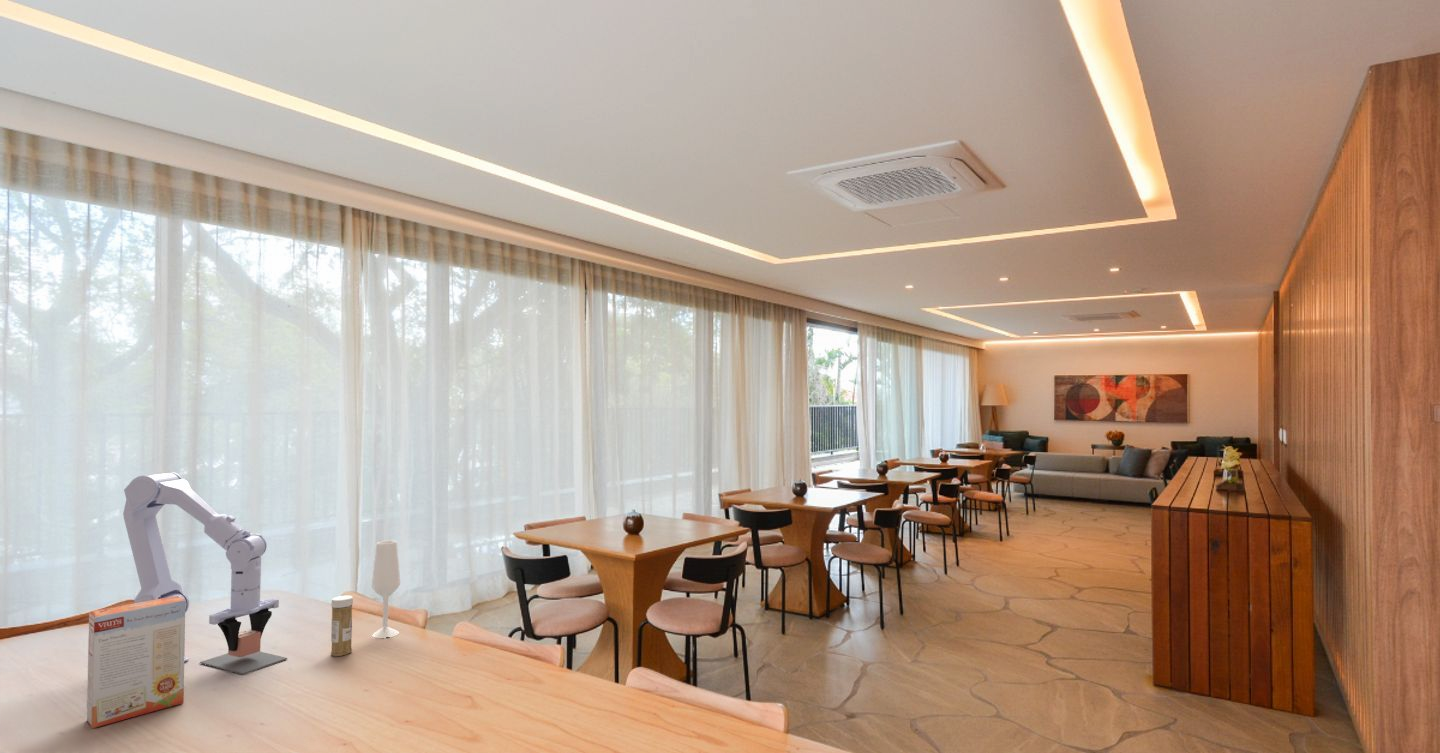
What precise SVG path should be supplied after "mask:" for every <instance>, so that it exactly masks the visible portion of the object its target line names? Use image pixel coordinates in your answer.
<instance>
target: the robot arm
mask: <svg viewBox="0 0 1440 753" xmlns="http://www.w3.org/2000/svg"><path fill="white" fill-rule="evenodd" d="M123 491H124V495H125V499H126V500H125V504H124V508H123V513H122V515H123V520H124V524H125V529H126V532H127V536H128V540H129V544H130V545H129V546H130V548H131V552H132V556H133V560H134V564H135V568H136V572H137V577H138V579H139V584H140V587H141V589H140V590H139V592H138V593H137V595H136V597H134V600H133V604H134V603H140V602H145V601H151V600H157V599H162V598H168V597H173V596H179V597H181V598H182V599H184V600H185V614H186V613H187V612H188V610H189V608H190V599H189V597H188V596H187V594H185V593H184V591H183V589H182V586H181V584H180V583H178V582H176V581H174V580H173V579H172V577H171V573H170V569H169V564H168V562H167V557H166V553H165V548H164V544H163V541H162V538H161V532H160V528H159V526H158V521H157V514H158V513H159V512H160V511H161V509H162V508H163V507H164V506H165V505H173V506H174V505H175V506H177V507H178V508H180V509H182V510H183V511H184V512H185V513H187V514H188V515H190V517H192V518H194V519H195V520H196V521H198V522H200V523H201V524H202V525H203V527H204V528H203V532H204V534H205V535H207V537H209V538H210V539H211V540H212V541H214V542H215V543H216V544H217V545H219V546H220V547H221V548H222V549H223V550H224V551H225V557H226V558H227V560H228V561H229V563H230V570H231V574H230V575H231V577H230V607H229V608H226V609H224V610H223V609H222V610H221V611H218V612H215V613H212V614H210V615H209V617H208V623H209V624H208V625H217V626H218V627H219V628H220V630H221V631H222V633H223V635H224V638H225V641H226V643H227V647H228V649H229V650H230V651H236V650H237V648H238V634H239V632H240V628H241V625H242V622H241V621H238V619H237V618H241V617H244V616H248V618H249V620H250V630H255V631H259V632H261V637H262V635H263V632H264V630H265V627H266V626H267V624H268V622H269V620H270V619H271V617H272V614H273V612H272V611H271V609H277V608H279V607H280V605H279V604H280V602H279V601H280V600H279V598H278V599H277V598H270V599H266V600H261V585H262V584H261V583H262V582H261V580H262V578H261V576H262V556H263V555H264V554H265V552H266V551H267V546H268V545H267V542H266V540H265V539H264V537H263V536H262V535H261V534H258V533H252V532H251V531H250V530H249V529H245V527H243V526H242V525H241V524H239V523H238V522H237V521H236V517H235V516H234V515H228V514H226V513H222V514H218V512H216V511H215V510H214V509H213V508H212V507H211V505H209V504H208V503H207V502H206V501H205V500H204V499H203V498H202V497H201V496H200V495H198V493H196V491H194V489H192V488H191V486H190V482H189V481H188V480H186V479H185V478H183V477H182V476H181V475H180V474H179V473H177V472H174V471H168V472H163V473H156V474H150V475H139V476H137V477H135V478H133V479H132V480H131V481H130V482H129V483H128V485H126V487H125V488H124V489H123ZM228 649H227V650H228ZM189 660H190V658H189V657H185V656H184V663H185V662H188V661H189Z"/></svg>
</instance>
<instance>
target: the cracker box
mask: <svg viewBox="0 0 1440 753" xmlns="http://www.w3.org/2000/svg"><path fill="white" fill-rule="evenodd" d="M185 637H186V613H185V600H184V599H182V598H181V597H179V596H173V597H168V598H162V599H157V600H151V601H145V602H140V603H134V602H133V603H129V604H124V605H119V606H113V607H108V608H102V609H97V610H92V611H89V614H88V639H87V640H88V642H87V643H88V644H87V645H88V646H87V647H88V648H87V650H88V651H87V689H86V690H87V691H86V692H87V695H86V721H87V722H88V724H89V725H90V727H91V729H95V728H99V727H103V726H105V725H106V726H107V725H109V724H113V723H116V722H120V721H123V720H124V721H125V720H126V719H130V718H134V717H138V716H142V715H145V714H148V713H152V712H155V711H160V710H162V709H163V710H164V709H166V708H171V707H174V706H178V705H181V704H183V703H184V700H185V698H184V696H185V695H184V693H185V662H184V657H185V644H186V643H185V642H186V641H185V640H186V638H185Z"/></svg>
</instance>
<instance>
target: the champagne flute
mask: <svg viewBox="0 0 1440 753" xmlns="http://www.w3.org/2000/svg"><path fill="white" fill-rule="evenodd" d="M374 556H375V557H374V562H373V563H374V564H373V571H372V581H371V588H372V589H373V591H374V592H375V593H376V594H377V595H378V596H380V597H381V598H382V600H383V601H382V602H383V603H382V604H383V605H382V627H381V628H379V629H378V630H377V631H375V632H374V633H372V634H373V635H372V634H371V635H372V636H373V637H378V638H384V639H387V638H386V637H390V638H393V637H396V636H398V635H399V634H400V632H399V631H398V630H396V629H395V628H391V627H389V597H390V596H392V595H393V594H394V593H395V592H396V591H397V590H398V588H399V587H400V585H401V577H400V576H401V575H400V564H399V554H398V542H397V540H392V539H391V540H381V541H378V542H376V548H375V555H374Z"/></svg>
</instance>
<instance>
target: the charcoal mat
mask: <svg viewBox="0 0 1440 753" xmlns="http://www.w3.org/2000/svg"><path fill="white" fill-rule="evenodd" d="M286 659H287V660H288V657H285V656H280V655H276V654H272V653H270V652H269V653H268V652H263V651H261V650H260V651H259V652H256V653H253V654H250V655H247V656H244V657H236V656H232V655H228V653H223V654H221V655H218V656H214V657H212V658H209V659H205V660H202V661H200V662H199V664H200V663H202V664H201V665H203V664H206V665H205V666H207V665H210V666H209V667H211V666H213V667H212V668H214V667H218V668H221V669H220V670H222V669H225V670H224V671H226V670H228V671H227V672H230V671H231V673H233V672H235V673H234V674H237V673H238V675H242V676H243V675H246V674H250V673H252V672H255V670H256V671H258V669H259V670H261V669H265V668H267V667H270V666H272V664H273V665H275V663H276V664H279V663H281V661H282V662H284V660H285V661H286ZM278 662H279V663H278ZM269 665H270V666H269ZM266 666H267V667H266ZM218 668H217V669H218ZM249 672H250V673H249Z"/></svg>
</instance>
